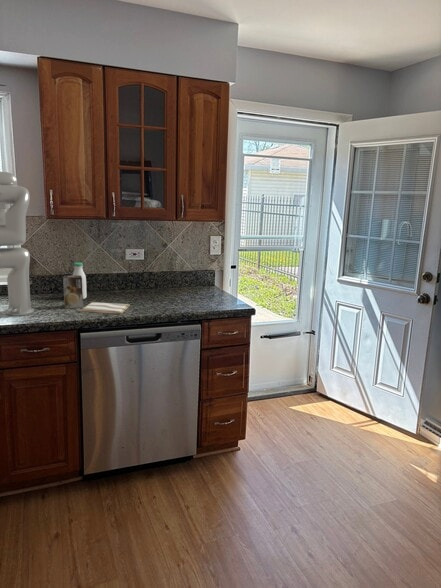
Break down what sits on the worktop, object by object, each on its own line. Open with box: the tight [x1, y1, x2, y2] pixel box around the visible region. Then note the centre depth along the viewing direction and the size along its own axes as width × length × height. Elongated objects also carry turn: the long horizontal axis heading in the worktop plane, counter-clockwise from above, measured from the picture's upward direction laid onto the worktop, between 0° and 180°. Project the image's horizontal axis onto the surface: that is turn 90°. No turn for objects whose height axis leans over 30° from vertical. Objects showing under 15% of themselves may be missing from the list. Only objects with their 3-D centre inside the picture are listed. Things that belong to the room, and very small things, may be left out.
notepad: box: [79, 301, 131, 315], centre depth 219 cm, size 17×21×1 cm
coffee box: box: [62, 275, 84, 309], centre depth 218 cm, size 9×6×16 cm
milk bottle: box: [71, 262, 87, 300], centre depth 235 cm, size 8×8×20 cm
